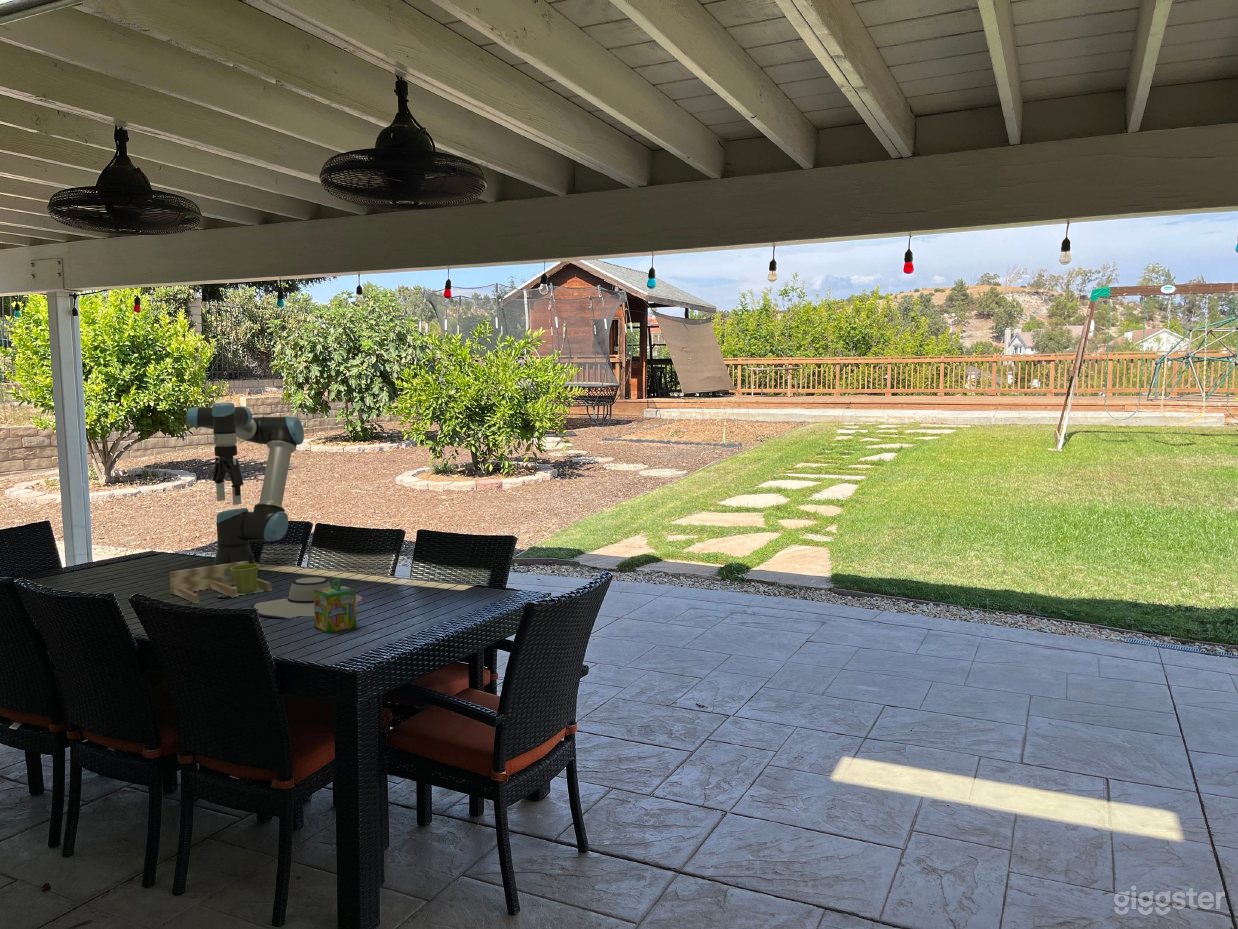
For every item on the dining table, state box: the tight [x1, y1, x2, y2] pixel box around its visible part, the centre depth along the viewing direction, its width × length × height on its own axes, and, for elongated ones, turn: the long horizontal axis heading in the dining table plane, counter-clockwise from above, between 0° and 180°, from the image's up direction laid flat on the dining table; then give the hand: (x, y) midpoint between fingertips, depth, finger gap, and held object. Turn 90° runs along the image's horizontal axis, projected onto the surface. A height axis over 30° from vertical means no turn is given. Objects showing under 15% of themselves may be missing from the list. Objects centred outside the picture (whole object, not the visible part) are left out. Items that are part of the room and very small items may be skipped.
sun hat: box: [250, 576, 363, 620], centre depth 283 cm, size 36×36×9 cm
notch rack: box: [169, 561, 273, 604], centre depth 301 cm, size 27×21×8 cm
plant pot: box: [230, 563, 260, 593], centre depth 302 cm, size 9×9×9 cm
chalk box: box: [313, 576, 357, 634], centre depth 254 cm, size 9×9×15 cm
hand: (229, 502), depth 317 cm, fingers open, 13 cm apart
